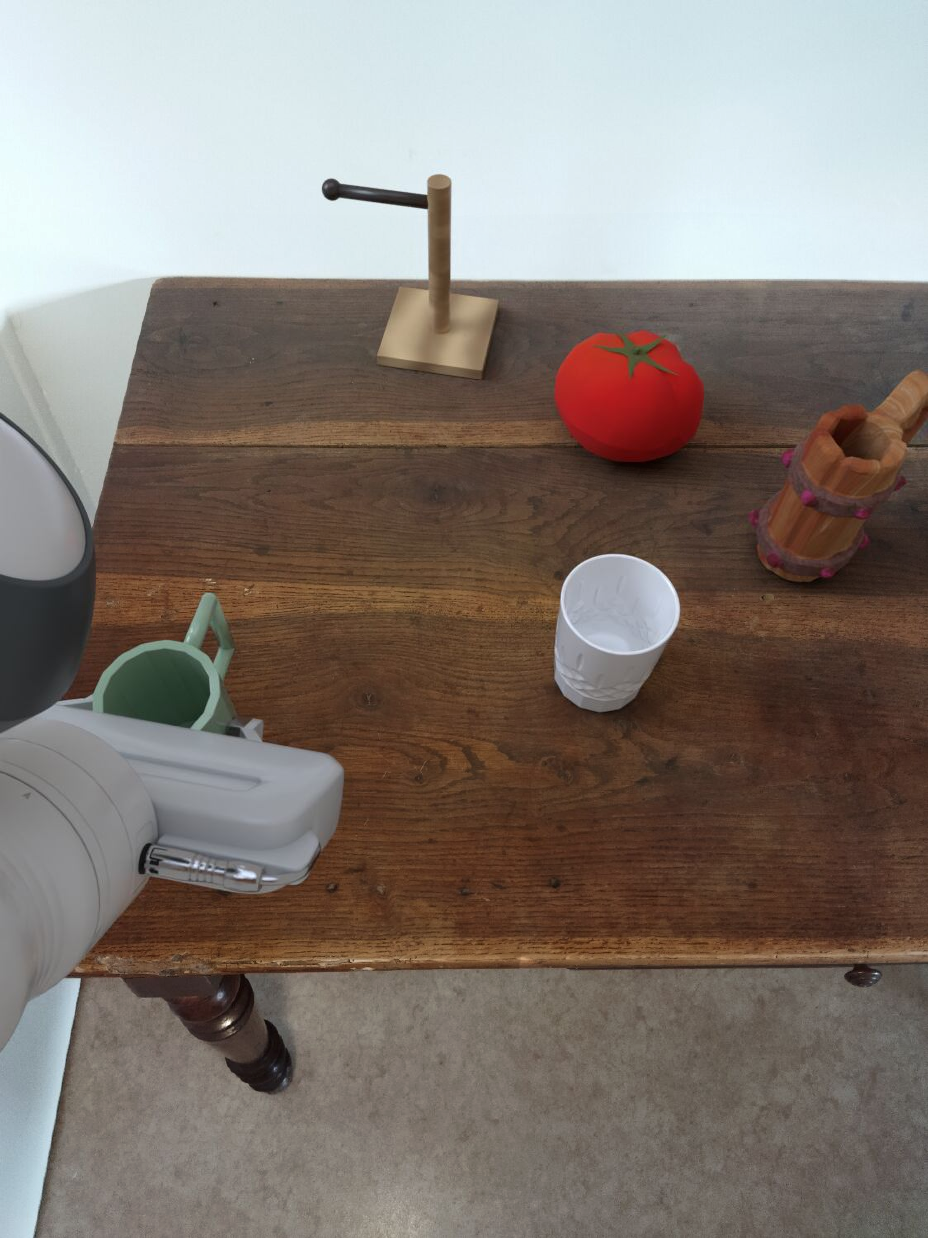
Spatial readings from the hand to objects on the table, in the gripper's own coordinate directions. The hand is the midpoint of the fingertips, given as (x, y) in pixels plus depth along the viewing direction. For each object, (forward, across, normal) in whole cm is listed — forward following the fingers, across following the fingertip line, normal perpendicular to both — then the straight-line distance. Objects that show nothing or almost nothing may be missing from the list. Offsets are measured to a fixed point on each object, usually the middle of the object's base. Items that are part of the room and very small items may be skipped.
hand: (180, 718), depth 46 cm
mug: (+34, -40, -11) cm, 53 cm away
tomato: (+40, -22, -17) cm, 49 cm away
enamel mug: (+4, 0, +2) cm, 5 cm away
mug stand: (+47, -2, -24) cm, 52 cm away
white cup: (+23, -23, 0) cm, 32 cm away
